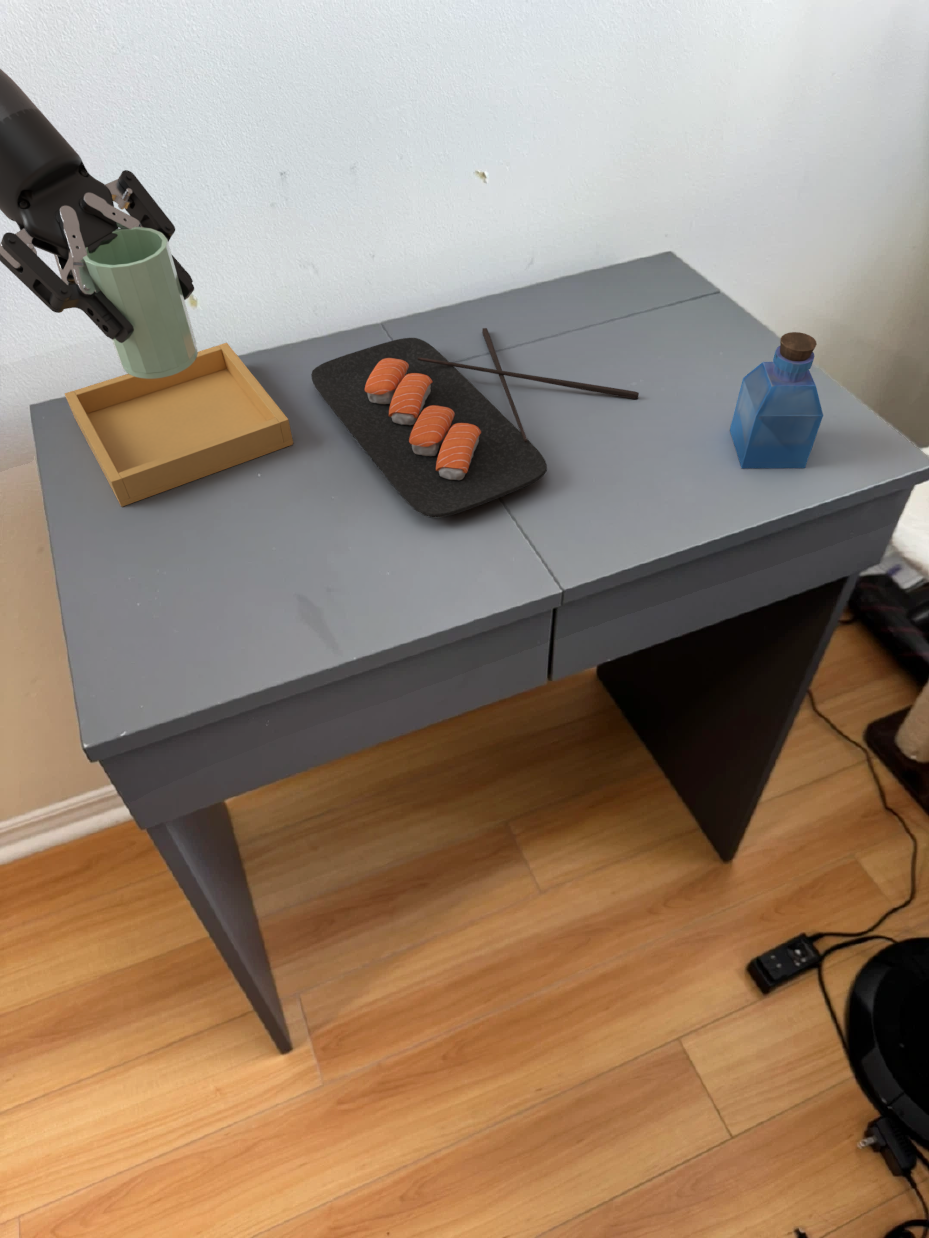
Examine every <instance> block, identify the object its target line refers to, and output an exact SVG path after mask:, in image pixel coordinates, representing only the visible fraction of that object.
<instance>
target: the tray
mask: <svg viewBox="0 0 929 1238" xmlns="http://www.w3.org/2000/svg"><path fill="white" fill-rule="evenodd" d="M64 397H65V399H66V401H67V404H68V406H69V408H70V410H71V413H72V415H73V417H74V420H75V421H76V423H77V425H78V427H79V429H80V431H81V433H82V435H83V437H84V439H85V441H86V443H87V445H88V446H89V448H90V450H91V452H92V454H93V456H94V458H95V461H96V462H97V463H98V466H99V467H100V469H101V471H102V473H103V475H104V477H105V479H106V480H107V482H108V484H109V486H110V488H111V490H112V491H113V494H114V497H115V498H116V499H117V502H118V503H119V506H120V507H121V508H123V507H125V506H128V505H131V504H134V503H136V502H139V501H142V500H145V499H147V498H150V497H153V496H155V495H158V494H161V493H165V492H166V491H169V490H171V489H175V488H177V487H180V486H183V485H186V484H189V483H192V482H194V481H197V480H200V479H203V478H205V477H208V476H210V475H214V474H216V473H219V472H222V471H225V470H227V469H229V468H232V467H235V466H238V465H241V464H243V463H246V462H249V461H252V460H254V459H257V458H259V457H263V456H265V455H268V454H271V453H273V452H277V451H279V450H282V449H284V448H287V447H290V446H292V445H294V439H293V435H292V430H291V425H290V421H289V418H288V417H287V416H286V415H285V413H284V412H283V411H282V409H280V407H279V406H278V405H277V403H276V402H275V400H274V399H273V398H272V397H271V396H270V395H269V393H268V392H267V390H265V387H263V386H262V384H261V383H260V382H259V381H258V380H257V378H256V377H255V376H254V374H252V372H251V371H250V370H249V368H248V367H247V366H246V365H245V363H244V362H243V360H242V359H241V358H240V357H239V356H238V355H237V353H236V352H235V351H234V350H233V348H232V347H231V345H230V344H229V343H228V342H223V343H221V344H218V345H215V346H212V347H208V348H205V349H201V350H198V354H197V358H196V360H195V361H194V362H193V363H192V365H190V366H189V367H188V368H186V369H185V370H183V371H181V372H179V373H177V374H174V375H171V376H168V377H163V378H156V379H145V378H138V377H135V376H132V375H130V374H128V373H126V374H122V375H120V376H116V377H113V378H109V379H106V380H103V381H100V382H97V383H93V384H91V385H88V386H84V387H80V388H78V389H75V390H72V391H67V392H65V393H64Z"/></svg>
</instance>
